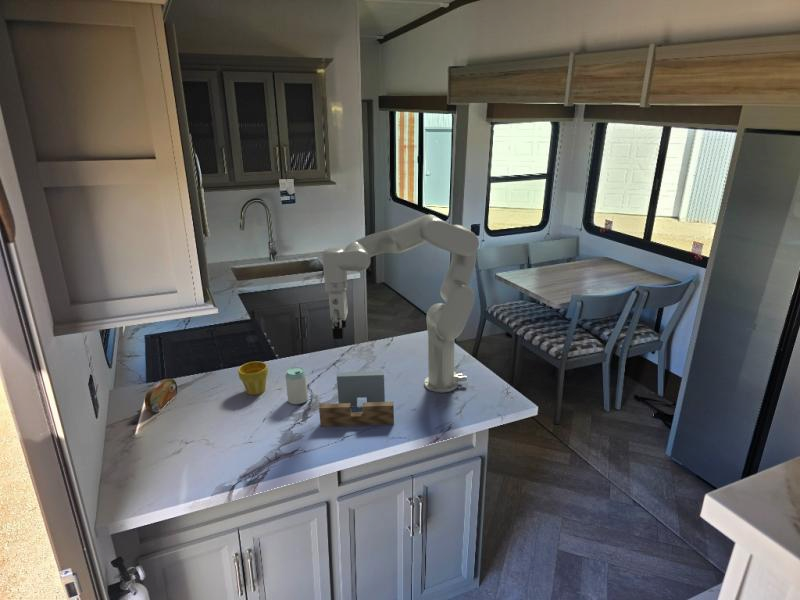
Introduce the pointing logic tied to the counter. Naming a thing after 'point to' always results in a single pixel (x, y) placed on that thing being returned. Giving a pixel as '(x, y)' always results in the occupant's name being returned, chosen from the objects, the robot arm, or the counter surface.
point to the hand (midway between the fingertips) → (339, 332)
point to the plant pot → (253, 377)
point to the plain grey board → (360, 386)
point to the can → (296, 385)
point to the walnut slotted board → (356, 414)
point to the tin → (160, 395)
